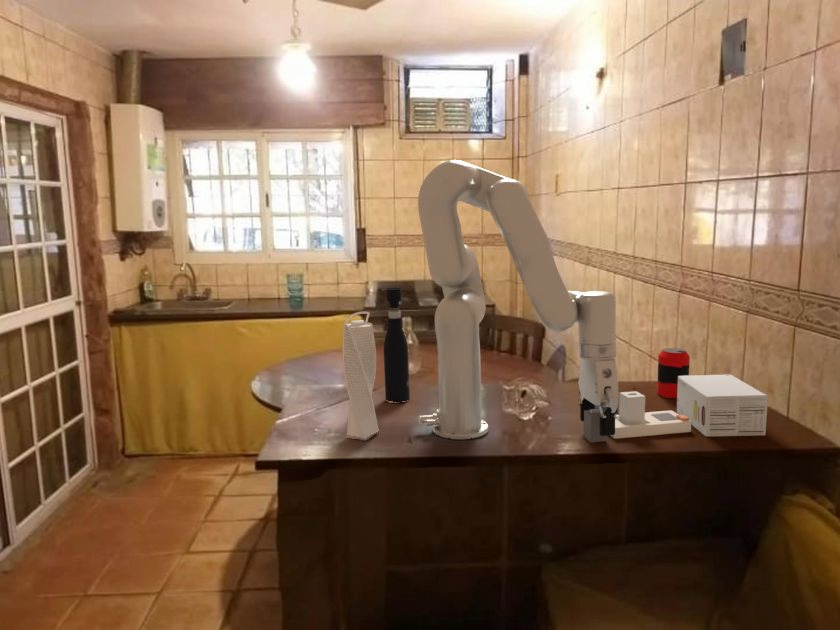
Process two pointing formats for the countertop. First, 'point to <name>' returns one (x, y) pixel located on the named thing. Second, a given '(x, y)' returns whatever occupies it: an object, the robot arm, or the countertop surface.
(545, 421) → the countertop surface
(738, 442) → the countertop surface
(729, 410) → the supplement box
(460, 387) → the robot arm
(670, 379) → the soda can
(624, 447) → the countertop surface
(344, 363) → the skyscraper
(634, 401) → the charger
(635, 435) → the power strip
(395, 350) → the wine bottle
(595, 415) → the cable plug
